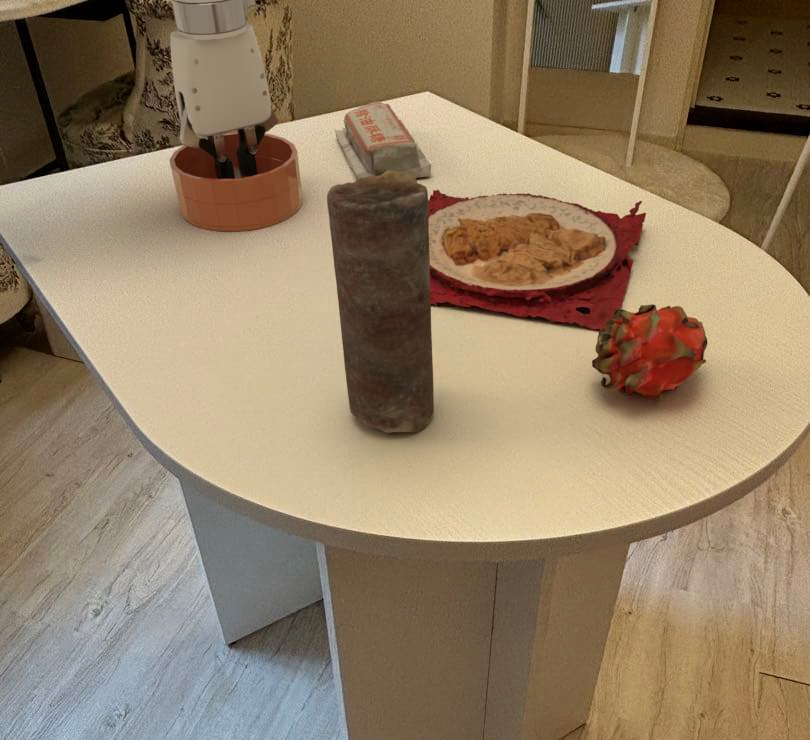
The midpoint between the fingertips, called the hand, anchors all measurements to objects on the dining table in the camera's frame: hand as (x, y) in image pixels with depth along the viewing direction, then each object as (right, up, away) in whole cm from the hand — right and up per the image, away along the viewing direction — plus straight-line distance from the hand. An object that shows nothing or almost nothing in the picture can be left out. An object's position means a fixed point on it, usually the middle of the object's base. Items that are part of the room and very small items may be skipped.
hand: (239, 186), depth 99 cm
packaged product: (+17, +9, +11) cm, 23 cm away
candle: (+19, -33, -29) cm, 48 cm away
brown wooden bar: (0, 0, 0) cm, 0 cm away
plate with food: (+33, -13, -10) cm, 37 cm away
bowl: (0, -2, +2) cm, 2 cm away
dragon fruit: (+42, -30, -27) cm, 58 cm away
